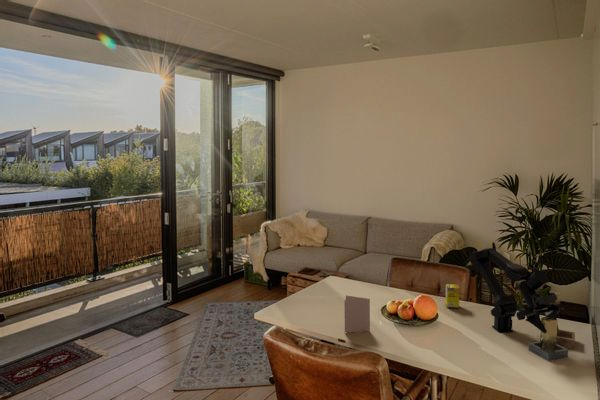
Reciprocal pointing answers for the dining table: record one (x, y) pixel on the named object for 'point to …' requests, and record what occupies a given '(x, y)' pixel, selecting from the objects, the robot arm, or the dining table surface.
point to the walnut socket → (566, 338)
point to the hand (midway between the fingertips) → (551, 331)
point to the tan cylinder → (549, 333)
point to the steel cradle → (548, 351)
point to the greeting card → (357, 314)
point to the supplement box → (452, 296)
